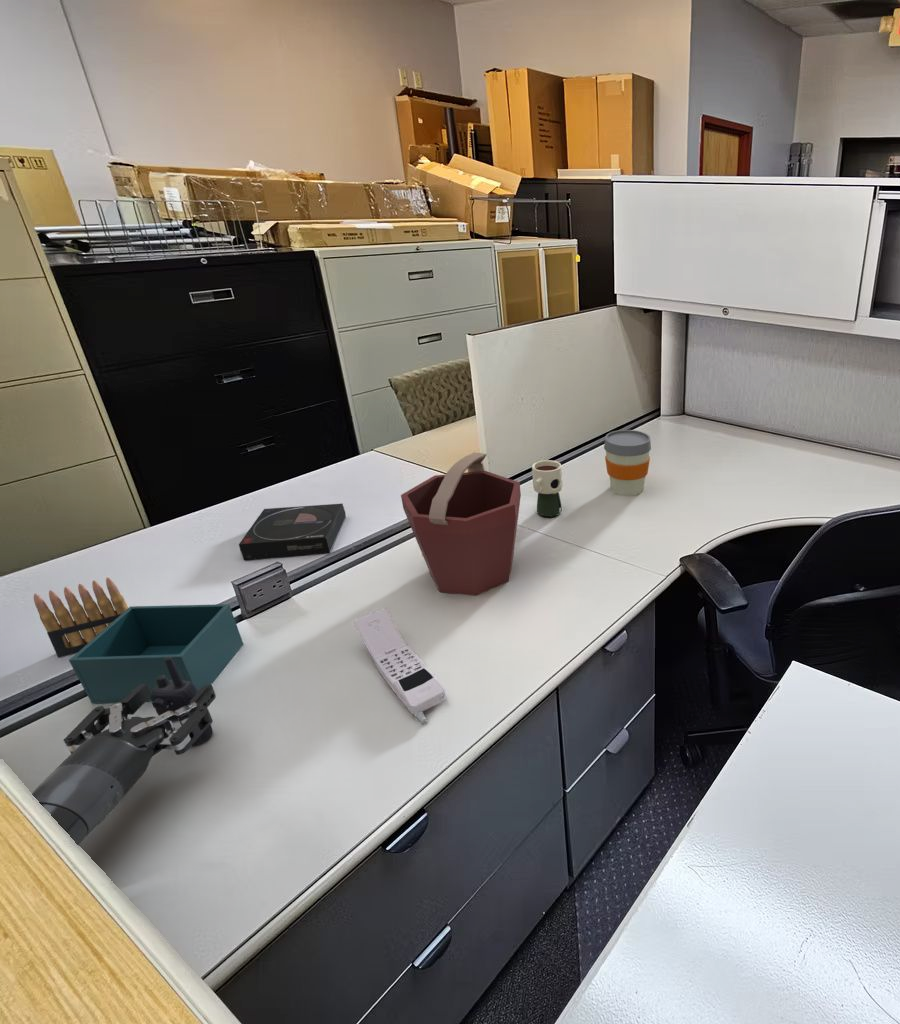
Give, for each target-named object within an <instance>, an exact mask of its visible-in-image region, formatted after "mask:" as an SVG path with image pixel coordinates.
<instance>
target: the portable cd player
mask: <svg viewBox="0 0 900 1024" xmlns="http://www.w3.org/2000/svg"><path fill="white" fill-rule="evenodd" d="M346 519H347V516H346V510H345V507H344V503H330V504H329V503H328V504H315V505H302V506H301V505H299V506H287V507H284V506H283V507H273V508H272V507H271V508H263V510H262V511H261V513H260V514H259V515H258V517H257V518H256V519H255V521H254V522H253V524H252V525H251V526H250V527H249V529H248V531H247V532H246V534H245V535H244V537H243V538H242V539H241V540H240V542H239V543H238V547H239V550H240V553H241V557H242V559H243V561H244V562H246V561H256V560H267V559H278V558H293V557H303V556H315V555H326V554H331V552H332V551H333V548H334V545H335V544H336V541H337V539H338V537H339V535H340V533H341V530H342V528H343V526H344V524H345V521H346Z"/></svg>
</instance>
